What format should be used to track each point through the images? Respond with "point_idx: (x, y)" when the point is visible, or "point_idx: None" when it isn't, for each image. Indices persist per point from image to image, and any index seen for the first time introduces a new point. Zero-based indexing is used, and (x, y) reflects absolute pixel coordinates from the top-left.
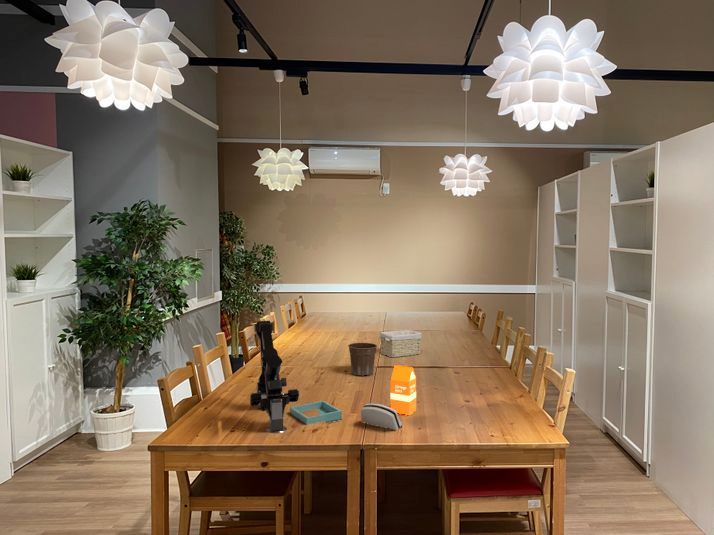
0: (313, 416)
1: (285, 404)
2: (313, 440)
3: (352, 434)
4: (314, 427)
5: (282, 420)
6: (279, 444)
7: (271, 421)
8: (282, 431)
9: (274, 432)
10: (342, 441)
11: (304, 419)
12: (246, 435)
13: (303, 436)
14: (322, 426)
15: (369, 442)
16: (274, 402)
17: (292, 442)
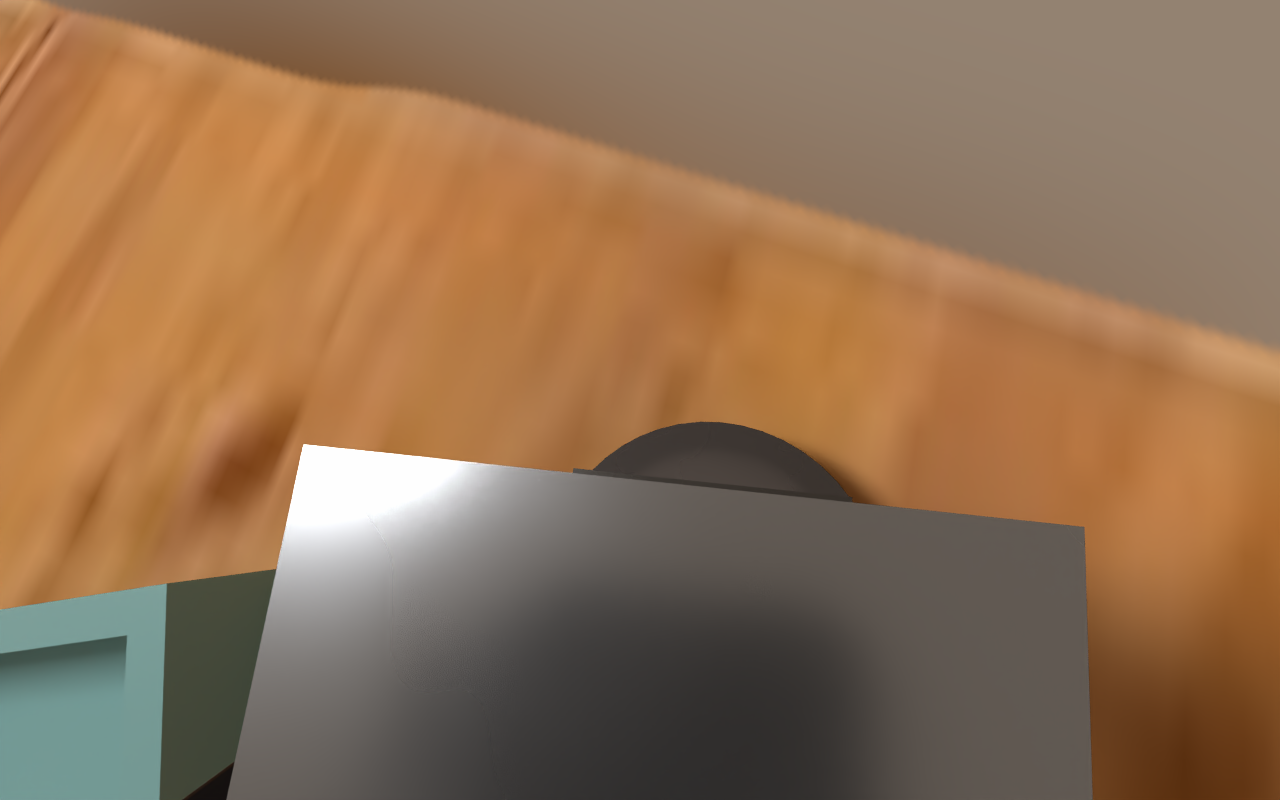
0: (45, 626)
1: (230, 768)
2: (380, 188)
3: (15, 210)
4: (211, 559)
5: (596, 472)
6: (757, 197)
7: (837, 499)
8: (643, 456)
9: (765, 468)
10: (167, 86)
11: (206, 670)
12: (1207, 706)
13: (430, 331)
14: (124, 548)
15: (12, 11)
16: (803, 634)
17: (599, 206)
